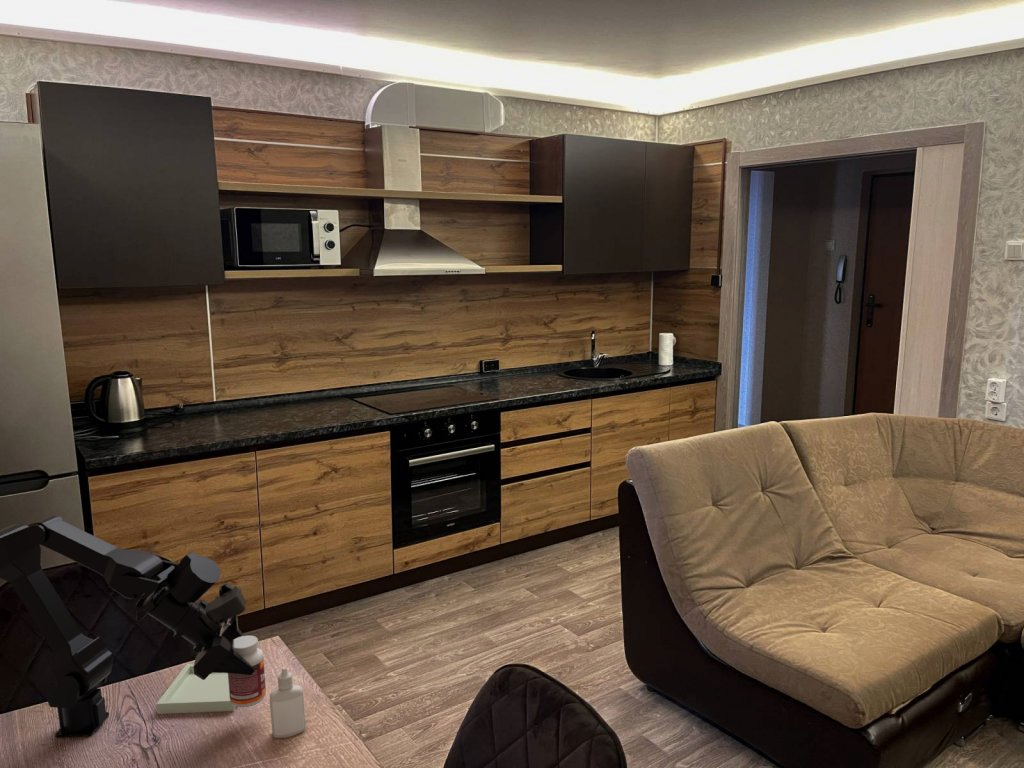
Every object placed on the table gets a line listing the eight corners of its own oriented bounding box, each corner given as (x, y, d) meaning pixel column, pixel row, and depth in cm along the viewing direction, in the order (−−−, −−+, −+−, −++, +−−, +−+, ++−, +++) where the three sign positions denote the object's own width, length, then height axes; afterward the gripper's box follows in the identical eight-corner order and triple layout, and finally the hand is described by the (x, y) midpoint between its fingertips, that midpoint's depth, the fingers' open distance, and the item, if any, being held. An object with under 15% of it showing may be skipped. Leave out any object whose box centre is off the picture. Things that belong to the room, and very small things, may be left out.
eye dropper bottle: (300, 739, 129) (295, 675, 127) (268, 738, 129) (263, 674, 127) (309, 724, 133) (304, 662, 131) (279, 723, 134) (274, 661, 132)
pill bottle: (270, 701, 133) (266, 643, 132) (234, 713, 130) (230, 654, 128) (261, 685, 138) (257, 630, 137) (226, 696, 135) (221, 639, 133)
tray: (157, 713, 137) (156, 703, 137) (188, 673, 151) (187, 663, 151) (234, 710, 138) (233, 700, 137) (257, 670, 152) (256, 661, 151)
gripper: (209, 601, 121) (285, 653, 125) (219, 559, 138) (285, 606, 143) (160, 654, 120) (238, 705, 124) (177, 605, 137) (244, 651, 142)
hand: (253, 663), depth 134 cm, fingers closed on pill bottle, 6 cm apart
